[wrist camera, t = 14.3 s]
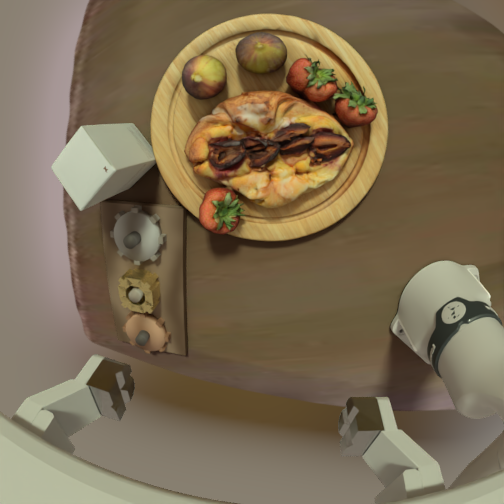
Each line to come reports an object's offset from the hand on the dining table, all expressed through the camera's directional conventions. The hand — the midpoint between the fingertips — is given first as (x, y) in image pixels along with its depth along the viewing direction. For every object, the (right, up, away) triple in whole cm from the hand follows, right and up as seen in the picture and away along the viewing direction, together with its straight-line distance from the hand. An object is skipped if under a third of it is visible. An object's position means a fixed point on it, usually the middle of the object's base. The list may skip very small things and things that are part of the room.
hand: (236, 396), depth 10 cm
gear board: (-17, 0, +38) cm, 42 cm away
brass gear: (-17, 0, +36) cm, 40 cm away
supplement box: (-17, +19, +30) cm, 40 cm away
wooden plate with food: (+3, +22, +27) cm, 35 cm away
